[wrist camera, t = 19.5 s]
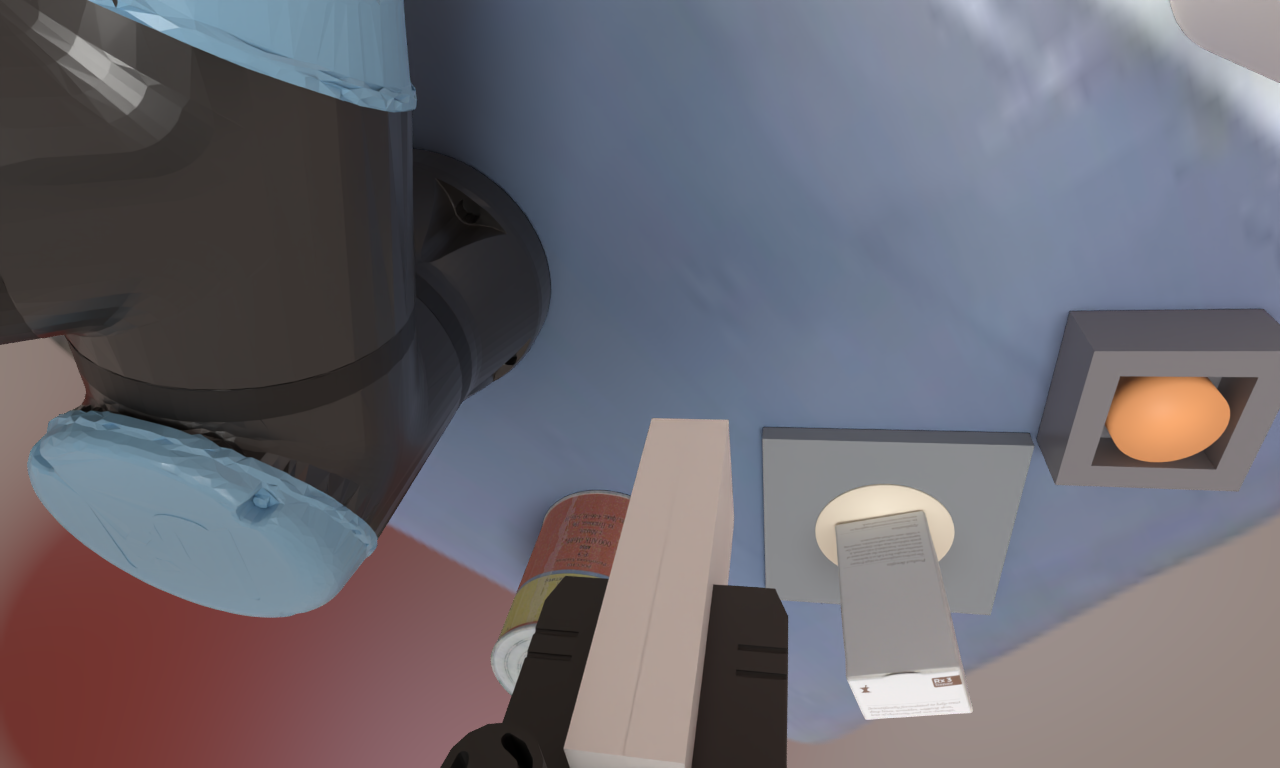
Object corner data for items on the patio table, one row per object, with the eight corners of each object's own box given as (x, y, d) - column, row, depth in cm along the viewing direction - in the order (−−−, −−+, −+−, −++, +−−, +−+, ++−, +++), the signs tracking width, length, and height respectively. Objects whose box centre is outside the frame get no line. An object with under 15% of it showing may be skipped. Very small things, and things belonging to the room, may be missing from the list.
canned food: (637, 607, 60) (606, 746, 51) (520, 546, 58) (466, 678, 49) (710, 537, 54) (691, 682, 44) (581, 466, 52) (532, 601, 42)
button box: (1036, 439, 44) (1055, 484, 40) (1070, 311, 38) (1094, 351, 35) (1204, 443, 42) (1238, 491, 38) (1263, 309, 37) (1307, 351, 33)
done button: (1087, 434, 41) (1100, 460, 39) (1110, 358, 38) (1126, 383, 36) (1191, 436, 40) (1210, 463, 38) (1223, 358, 37) (1246, 384, 35)
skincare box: (849, 563, 51) (861, 726, 41) (832, 519, 49) (840, 681, 39) (940, 550, 48) (976, 720, 39) (927, 503, 46) (960, 671, 37)
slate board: (766, 586, 56) (765, 601, 55) (763, 427, 47) (762, 440, 46) (986, 601, 52) (990, 617, 51) (1029, 433, 43) (1035, 447, 42)
